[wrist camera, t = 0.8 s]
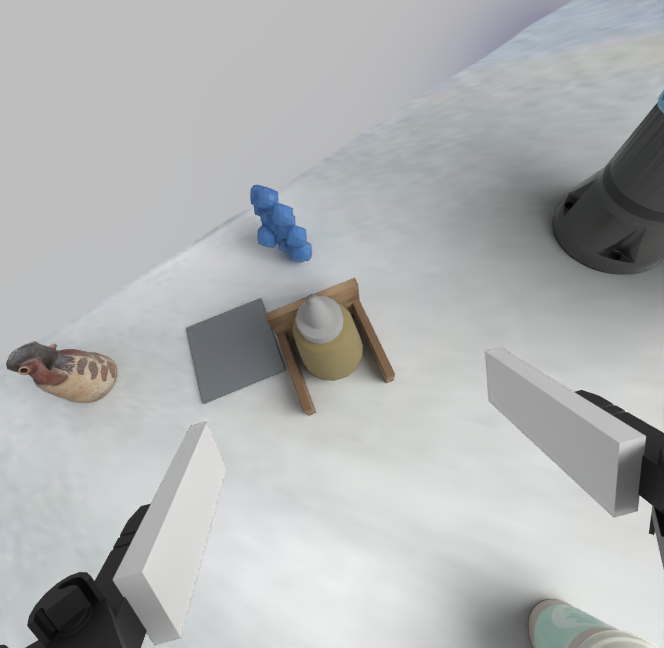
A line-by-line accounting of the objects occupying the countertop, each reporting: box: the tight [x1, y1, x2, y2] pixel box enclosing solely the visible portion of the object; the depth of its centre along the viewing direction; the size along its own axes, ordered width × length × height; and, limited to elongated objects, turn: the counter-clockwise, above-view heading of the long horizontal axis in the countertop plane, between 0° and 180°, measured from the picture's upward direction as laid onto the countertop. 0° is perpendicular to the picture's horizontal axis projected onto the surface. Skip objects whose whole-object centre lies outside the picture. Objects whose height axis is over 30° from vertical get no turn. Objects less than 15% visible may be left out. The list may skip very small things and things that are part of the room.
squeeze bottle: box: [293, 294, 363, 381], centre depth 37 cm, size 8×8×18 cm
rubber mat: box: [186, 298, 285, 404], centre depth 47 cm, size 12×12×1 cm
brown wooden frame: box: [264, 278, 395, 415], centre depth 42 cm, size 12×12×8 cm
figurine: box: [6, 341, 117, 403], centre depth 43 cm, size 7×7×12 cm
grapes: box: [250, 185, 312, 262], centre depth 47 cm, size 12×7×12 cm, turn 41°
